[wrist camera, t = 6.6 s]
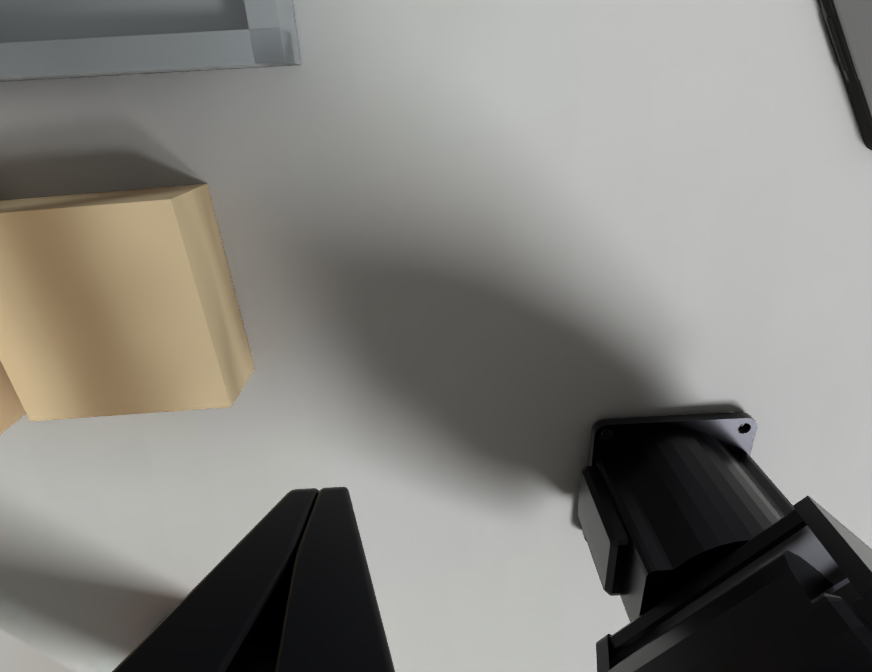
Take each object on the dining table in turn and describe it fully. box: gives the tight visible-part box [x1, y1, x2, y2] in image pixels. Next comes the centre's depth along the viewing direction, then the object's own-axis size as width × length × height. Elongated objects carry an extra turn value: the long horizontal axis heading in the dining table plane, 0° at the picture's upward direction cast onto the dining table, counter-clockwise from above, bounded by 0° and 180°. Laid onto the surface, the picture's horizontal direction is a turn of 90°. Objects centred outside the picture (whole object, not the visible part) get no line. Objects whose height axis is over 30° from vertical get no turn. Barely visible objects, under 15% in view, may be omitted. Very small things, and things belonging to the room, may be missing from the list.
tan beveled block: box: [0, 184, 255, 421], centre depth 18 cm, size 7×7×3 cm
